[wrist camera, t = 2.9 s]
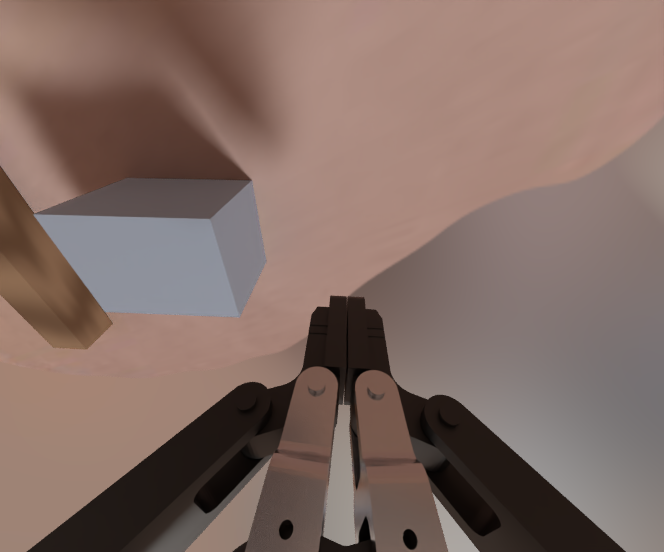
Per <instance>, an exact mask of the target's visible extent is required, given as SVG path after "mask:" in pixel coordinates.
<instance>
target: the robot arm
mask: <svg viewBox="0 0 664 552" xmlns="http://www.w3.org/2000/svg"><path fill="white" fill-rule="evenodd" d="M344 390H345V391H344ZM343 395H344V404H345V405H350V424H349V432H350V445H351V458H352V471H353V485H354V523H355V537H356V544H353V545H350V546H342V545H340V544H338V543H336V542H334V541H331V540H329V539H327V538H325V537H323V533H324V524H325V515H326V505H327V495H328V485H329V476H330V467H331V457H332V449H333V439H334V430H335V427H336V424H337V417H338V405H339V404H341V405H342V404H343ZM271 457H272V458H271ZM270 458H271V461H270V464H269V467H268V470H267V474H266V477H265V481H264V485H263V488H262V492H261V495H260V499H259V503H258V506H257V510H256V513H255V517H254V521H253V524H252V528H251V531H250V535H249V538H248V541H247V542H245V543H244V544H242V545H241V546H239V547H238V548H237V549H235V550H234V551H233V552H448V549H447V545H446V542H445V538H444V534H443V531H442V528H441V523H440V520H439V516H438V513H437V509H436V505H435V501H434V498H433V494H434V495H435V496H436V497H437V499H438V500H439V501H440V502H441V504H442V505H443V506H444V507H445V509H446V510H447V511H448V512H449V514H450V515H451V516H452V517H453V519H454V520H455V521H456V523H457V524H458V525H459V526H460V528H461V529H462V530H463V531H464V533H465V534H466V535H467V536H468V538H469V539H470V540H471V541H472V543H473V544H474V545H475V546H476V548H477V549H478V550H479V551H480V552H626V551H624V550H623V549H622V548H621V547H620V546H619V545H618V544H617V543H615V542H614V541H613V540H612V539H611V538H610V537H609V536H607V534H606V533H604V532H603V531H602V530H601V529H600V528H599V527H597V526H596V525H595V524H594V523H593V522H592V521H591V520H590V519H589V518H588V517H587V516H585V515H584V514H583V513H582V512H581V511H580V510H579V509H578V508H577V507H575V506H574V505H573V504H572V503H571V502H570V501H569V500H567V498H565V497H564V496H563V495H562V494H561V493H560V492H559V491H558V490H556V489H555V488H554V487H553V486H552V485H551V484H550V483H549V482H547V480H545V479H544V478H543V477H542V476H541V475H540V474H539V473H538V472H537V471H535V470H534V469H533V468H532V467H531V466H530V465H529V464H528V463H527V462H525V461H524V460H523V459H522V458H521V457H520V456H519V455H518V454H516V453H515V452H514V451H513V450H512V449H511V448H510V447H509V446H508V445H507V444H505V443H504V442H503V441H502V440H501V439H500V438H499V437H498V436H497V435H495V434H494V433H493V432H492V431H491V430H490V429H489V428H487V426H485V425H484V424H483V423H482V422H481V421H480V420H479V419H478V418H477V417H475V416H474V415H473V414H472V413H471V412H470V411H469V410H468V409H466V408H465V407H464V406H463V405H462V404H461V403H459V402H458V401H457V400H455V399H453V398H451V397H449V396H446V395H435V396H432V397H431V398H429V399H428V400H427V399H425V398H422V397H419V396H417V395H414V394H411V393H409V392H407V391H406V390H404V389H402V388H401V387H400V386H399V385H398V384H397V383H396V382H395V380H394V379H393V377H392V375H391V372H390V366H389V360H388V354H387V347H386V341H385V334H384V328H383V321H382V318H381V316H380V315H379V314H378V312H377V311H376V310H371V309H365V299H364V297H349V296H348V299H347V297H346V296H330V305H329V307H317V308H316V310H315V311H314V312H313V314H312V315H311V321H310V327H309V335H308V340H307V345H306V351H305V358H304V364H303V368H302V370H301V372H300V374H299V375H298V376H297V377H296V378H295V379H294V380H293V381H291V382H289V383H287V384H285V385H282V386H278V387H274V388H270V389H267V388H266V387H265V386H264V385H263V384H261V383H257V382H249V383H244V384H242V385H240V386H238V387H236V388H235V389H234V390H232V391H231V392H230V393H229V394H227V395H226V396H225V397H223V398H222V399H221V400H220V401H219V402H217V403H216V404H215V405H213V406H212V407H211V408H210V409H208V410H207V411H206V412H204V413H203V414H202V415H201V416H199V417H198V418H197V419H195V420H194V421H193V422H192V423H190V424H189V425H188V426H187V427H185V428H184V429H183V430H181V431H180V432H179V433H178V434H176V435H175V436H174V437H172V438H171V439H170V440H169V441H167V442H166V443H165V444H164V445H162V446H161V447H160V448H158V449H157V450H156V451H155V452H154V453H152V454H151V455H150V456H148V457H147V458H146V459H144V460H143V461H142V462H141V463H139V464H138V465H137V466H136V467H134V468H133V469H132V470H130V471H129V472H128V473H127V474H125V475H124V476H123V477H122V478H120V479H119V480H118V481H116V482H115V483H114V484H113V485H111V486H110V487H109V488H107V489H106V490H105V491H104V492H102V493H101V494H100V495H98V496H97V497H96V498H95V499H93V500H92V501H91V502H90V503H88V504H87V505H86V506H84V507H83V508H82V509H81V510H80V511H78V512H77V513H76V514H74V515H73V516H72V517H71V518H69V519H68V520H67V521H65V522H64V523H63V524H62V525H60V526H59V527H58V528H57V529H55V530H54V531H53V532H51V533H50V534H49V535H48V536H46V537H45V538H44V539H42V540H41V541H40V542H39V543H37V544H36V545H35V546H34V547H32V548H31V549H30V550H28V551H27V552H185V550H186V549H187V548H188V547H189V546H190V545H191V544H192V543H193V542H194V541H195V540H196V539H197V537H198V536H199V535H200V534H201V533H202V532H203V531H204V530H205V529H206V528H207V527H208V525H209V524H210V523H211V522H212V521H213V520H214V519H215V518H216V517H217V516H218V515H219V513H220V512H221V511H222V510H223V509H224V508H225V507H226V506H227V505H228V504H229V503H230V501H231V500H232V499H233V498H234V497H235V496H236V495H237V494H238V493H239V492H240V491H241V490H242V489H243V487H244V486H245V485H246V484H247V483H248V482H249V481H250V480H251V479H252V478H253V477H254V475H255V474H256V473H257V472H258V471H259V470H260V469H261V468H262V467H263V466H264V465H265V463H266V462H267V461H268V460H269V459H270ZM432 492H433V494H432Z"/></svg>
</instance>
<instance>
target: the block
mask: <svg viewBox="0 0 664 552" xmlns="http://www.w3.org/2000/svg"><path fill="white" fill-rule="evenodd" d="M33 215H34V217H35V218H36V219H37V221H38V222H39V223H40V225H41V226H42V227H43V229H44V230H45V231H46V233H47V234H48V236H49V237H50V238H51V240H52V241H53V242H54V244H55V245H56V246H57V248H58V249H59V250H60V252H61V253H62V254H63V256H64V257H65V258H66V260H67V261H68V263H69V264H70V265H71V267H72V268H73V269H74V271H75V272H76V273H77V275H78V276H79V277H80V279H81V280H82V281H83V283H84V284H85V286H86V287H87V288H88V290H89V291H90V292H91V294H92V295H93V296H94V298H95V299H96V300H97V302H98V303H99V304H100V306H101V307H102V309H103V310H104V311H105V312H119V313H144V314H169V315H194V316H219V317H240V316H241V314H242V311H243V309H244V307H245V305H246V303H247V301H248V299H249V297H250V295H251V293H252V291H253V288H254V286H255V284H256V282H257V280H258V278H259V276H260V274H261V272H262V270H263V268H264V265H265V263H266V257H265V251H264V245H263V240H262V234H261V228H260V223H259V217H258V212H257V206H256V200H255V195H254V189H253V183H252V180H209V179H160V178H125V179H123V180H120V181H118V182H115V183H112V184H110V185H107V186H105V187H102V188H100V189H97V190H94V191H92V192H89V193H87V194H84V195H82V196H79V197H76V198H74V199H71V200H69V201H66V202H63V203H61V204H58V205H56V206H53V207H51V208H48V209H45V210H43V211H40V212H38V213H35V214H33Z"/></svg>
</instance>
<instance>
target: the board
mask: <svg viewBox="0 0 664 552" xmlns="http://www.w3.org/2000/svg"><path fill="white" fill-rule="evenodd" d="M33 214H34V213H33V212H32V210H31V209H30V208H29V206H28V205H27V203H26V202H25V201H24V199H23V198H22V196H21V195H20V194H19V192H18V191H17V189H16V188H15V187H14V185H13V184H12V182H11V181H10V180H9V178H8V177H7V175H6V174H5V173H4V171H3V170H2V168H1V167H0V295H1V296H2V297H3V298H4V299H5V300H6V301H7V302H8V303H9V304H10V305H11V306H12V307H13V308H14V309H15V310H16V311H17V312H18V313H19V314H20V315H21V316H22V317H23V318H24V319H25V320H26V321H27V322H28V323H29V324H30V325H31V326H32V327H33V328H34V329H35V330H36V331H37V332H38V333H39V334H40V335H41V336H42V337H43V338H44V339H45V340H46V341H47V342H48V343H49V344H50V345H51V346H52V347H53V348H69V349H88V348H89V347H90V346H91V345H92V344H93V343H94V342H95V341H96V340H97V339H98V338H99V337H100V336H101V335H102V334H103V333H104V332H105V331H106V330H107V329H108V328H109V327H110V326H111V325H112V322H111V321H110V319H109V318H108V317H107V315H106V314H105V312H104V311H103V310H102V308H101V307H100V305H99V304H98V303H97V301H96V300H95V298H94V297H93V296H92V294H91V293H90V291H89V290H88V289H87V287H86V286H85V284H84V283H83V282H82V280H81V279H80V277H79V276H78V275H77V273H76V272H75V271H74V269H73V268H72V267H71V265H70V264H69V263H68V261H67V260H66V258H65V257H64V256H63V254H62V253H61V252H60V250H59V249H58V248H57V246H56V245H55V244H54V242H53V241H52V240H51V238H50V237H49V236H48V234H47V233H46V231H45V230H44V229H43V227H42V226H41V225H40V223H39V222H38V221H37V219H36V218H35V217H34V215H33Z"/></svg>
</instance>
